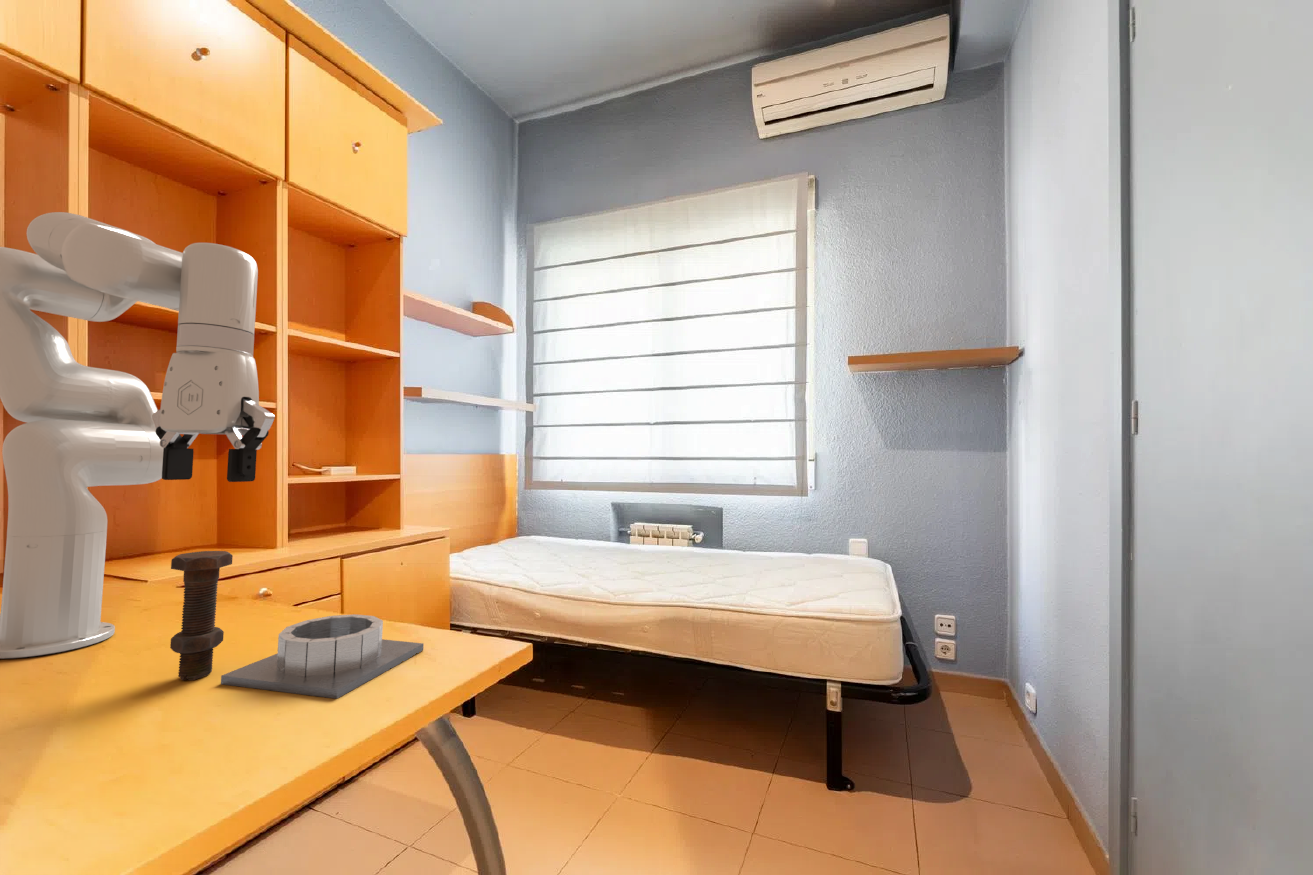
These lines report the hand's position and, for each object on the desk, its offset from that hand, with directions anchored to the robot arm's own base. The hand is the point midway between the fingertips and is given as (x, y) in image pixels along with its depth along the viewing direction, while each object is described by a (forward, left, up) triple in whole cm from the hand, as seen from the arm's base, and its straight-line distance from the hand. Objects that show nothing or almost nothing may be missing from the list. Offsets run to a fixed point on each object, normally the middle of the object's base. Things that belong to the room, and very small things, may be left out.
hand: (208, 480), depth 67 cm
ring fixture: (+13, +7, -24) cm, 28 cm away
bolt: (0, 0, -24) cm, 24 cm away
